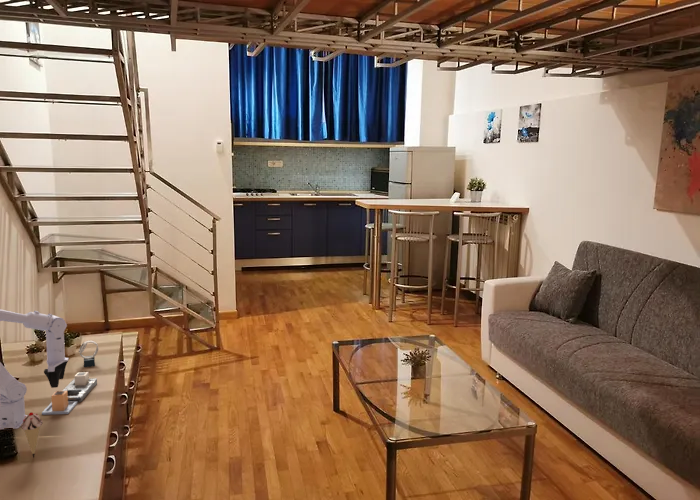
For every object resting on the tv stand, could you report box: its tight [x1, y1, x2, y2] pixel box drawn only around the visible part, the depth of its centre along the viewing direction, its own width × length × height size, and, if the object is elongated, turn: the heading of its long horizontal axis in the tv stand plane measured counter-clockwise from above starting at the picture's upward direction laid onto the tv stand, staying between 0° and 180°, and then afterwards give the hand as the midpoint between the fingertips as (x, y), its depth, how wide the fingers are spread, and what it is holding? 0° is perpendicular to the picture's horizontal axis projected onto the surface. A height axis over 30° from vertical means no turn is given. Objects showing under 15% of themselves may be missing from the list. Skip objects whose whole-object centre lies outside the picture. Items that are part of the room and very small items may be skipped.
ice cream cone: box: [20, 412, 44, 458], centre depth 161 cm, size 6×6×15 cm
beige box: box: [73, 371, 90, 385], centre depth 212 cm, size 4×4×6 cm
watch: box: [78, 339, 99, 368], centre depth 236 cm, size 6×8×11 cm
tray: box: [41, 401, 79, 416], centre depth 193 cm, size 9×9×1 cm
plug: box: [51, 390, 69, 411], centre depth 193 cm, size 4×4×6 cm
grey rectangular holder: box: [62, 377, 98, 403], centre depth 207 cm, size 18×9×2 cm, turn 8°
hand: (57, 383), depth 194 cm, fingers open, 7 cm apart
